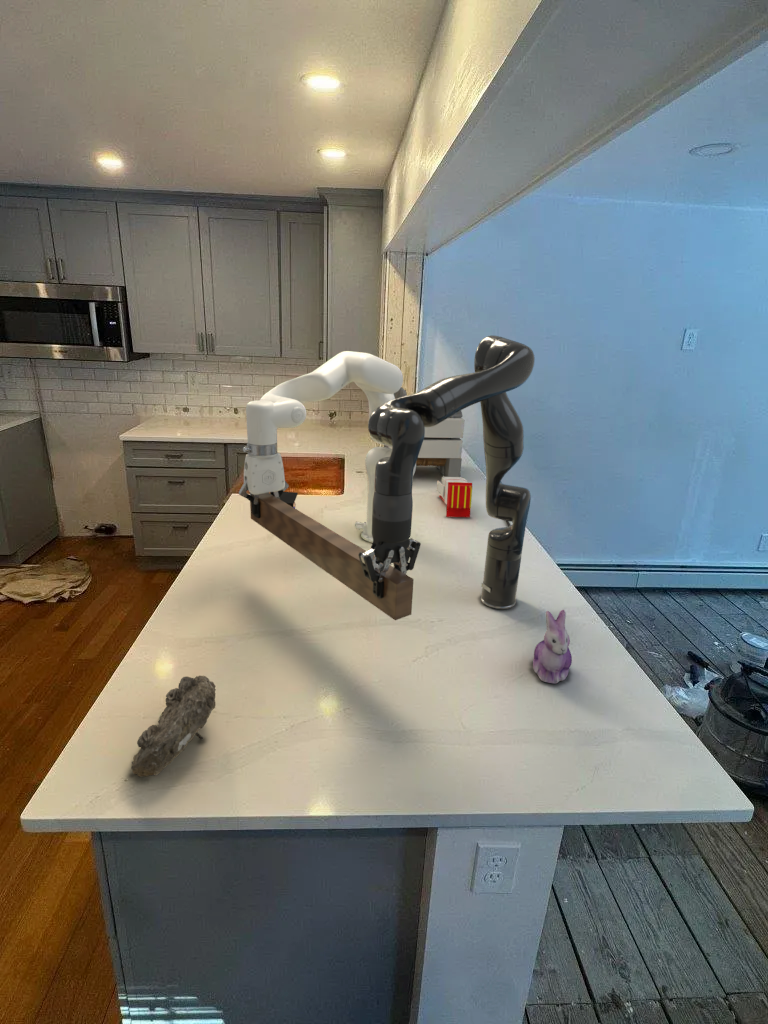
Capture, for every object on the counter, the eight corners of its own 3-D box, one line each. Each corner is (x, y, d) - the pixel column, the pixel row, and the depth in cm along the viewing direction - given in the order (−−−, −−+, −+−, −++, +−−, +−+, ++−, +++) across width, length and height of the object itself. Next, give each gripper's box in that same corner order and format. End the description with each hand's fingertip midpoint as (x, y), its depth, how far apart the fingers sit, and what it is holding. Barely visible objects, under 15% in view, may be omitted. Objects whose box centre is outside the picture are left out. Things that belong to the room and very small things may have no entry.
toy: (463, 473, 243) (476, 484, 213) (461, 503, 245) (474, 518, 216) (435, 472, 242) (444, 483, 213) (433, 502, 245) (442, 517, 216)
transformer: (382, 463, 289) (386, 382, 275) (445, 464, 293) (451, 384, 279) (390, 482, 257) (394, 392, 243) (460, 483, 261) (468, 394, 247)
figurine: (551, 690, 120) (562, 629, 115) (520, 664, 128) (528, 606, 123) (584, 679, 124) (596, 619, 119) (551, 654, 132) (561, 597, 127)
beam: (250, 518, 157) (249, 491, 154) (264, 515, 159) (263, 489, 156) (395, 620, 109) (396, 584, 106) (411, 614, 111) (413, 578, 109)
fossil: (164, 676, 112) (217, 643, 107) (198, 707, 115) (251, 677, 110) (105, 770, 92) (166, 735, 87) (148, 805, 95) (209, 773, 90)
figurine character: (293, 526, 206) (298, 508, 219) (293, 507, 202) (298, 490, 216) (275, 525, 205) (281, 507, 219) (274, 507, 202) (280, 489, 215)
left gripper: (238, 456, 140) (241, 525, 146) (298, 448, 149) (299, 513, 156) (226, 449, 145) (230, 516, 151) (284, 442, 155) (286, 505, 161)
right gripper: (373, 526, 100) (370, 611, 106) (433, 512, 108) (427, 591, 114) (349, 513, 106) (348, 595, 111) (408, 500, 114) (404, 577, 120)
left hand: (265, 514), depth 153 cm, fingers closed on beam, 4 cm apart
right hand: (388, 593), depth 113 cm, fingers closed on beam, 4 cm apart
